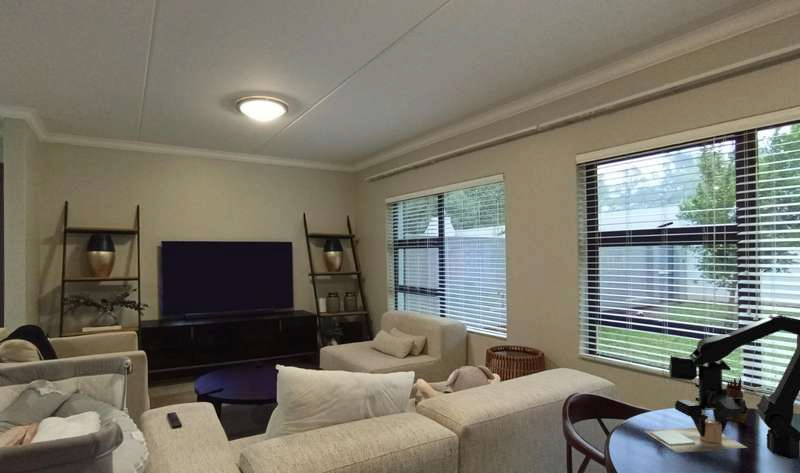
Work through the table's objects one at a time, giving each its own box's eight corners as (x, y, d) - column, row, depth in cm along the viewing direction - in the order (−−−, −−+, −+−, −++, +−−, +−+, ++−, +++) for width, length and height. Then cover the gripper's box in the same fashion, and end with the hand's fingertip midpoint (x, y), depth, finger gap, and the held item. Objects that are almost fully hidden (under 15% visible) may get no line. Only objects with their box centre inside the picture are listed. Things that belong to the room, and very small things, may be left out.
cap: (712, 434, 133) (712, 417, 133) (726, 442, 127) (726, 425, 127) (695, 435, 132) (695, 418, 132) (709, 443, 127) (709, 425, 127)
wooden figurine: (751, 424, 143) (750, 378, 143) (739, 427, 141) (739, 380, 141) (728, 416, 149) (728, 372, 149) (717, 419, 147) (717, 374, 147)
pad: (695, 443, 128) (695, 442, 128) (669, 445, 127) (669, 443, 127) (674, 431, 136) (674, 430, 136) (650, 433, 135) (650, 431, 135)
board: (747, 451, 126) (747, 447, 126) (676, 456, 123) (676, 452, 123) (708, 429, 139) (707, 426, 139) (643, 434, 137) (643, 430, 137)
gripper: (703, 393, 121) (703, 450, 121) (764, 390, 123) (765, 446, 123) (673, 380, 132) (674, 432, 132) (730, 377, 134) (730, 429, 134)
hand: (710, 435), depth 130 cm, fingers closed on cap, 5 cm apart
